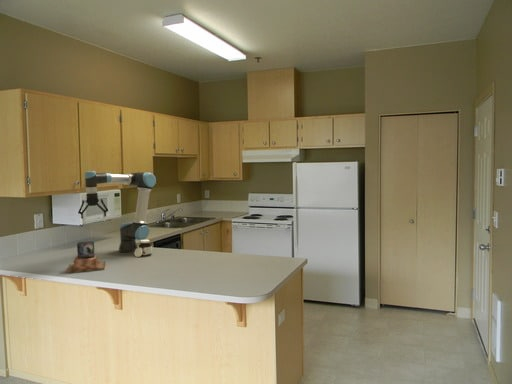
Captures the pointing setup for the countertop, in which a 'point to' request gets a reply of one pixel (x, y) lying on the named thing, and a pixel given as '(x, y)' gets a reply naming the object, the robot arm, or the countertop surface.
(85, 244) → the small box
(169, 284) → the countertop surface
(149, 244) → the spread jar
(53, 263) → the countertop surface
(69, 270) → the tower base
